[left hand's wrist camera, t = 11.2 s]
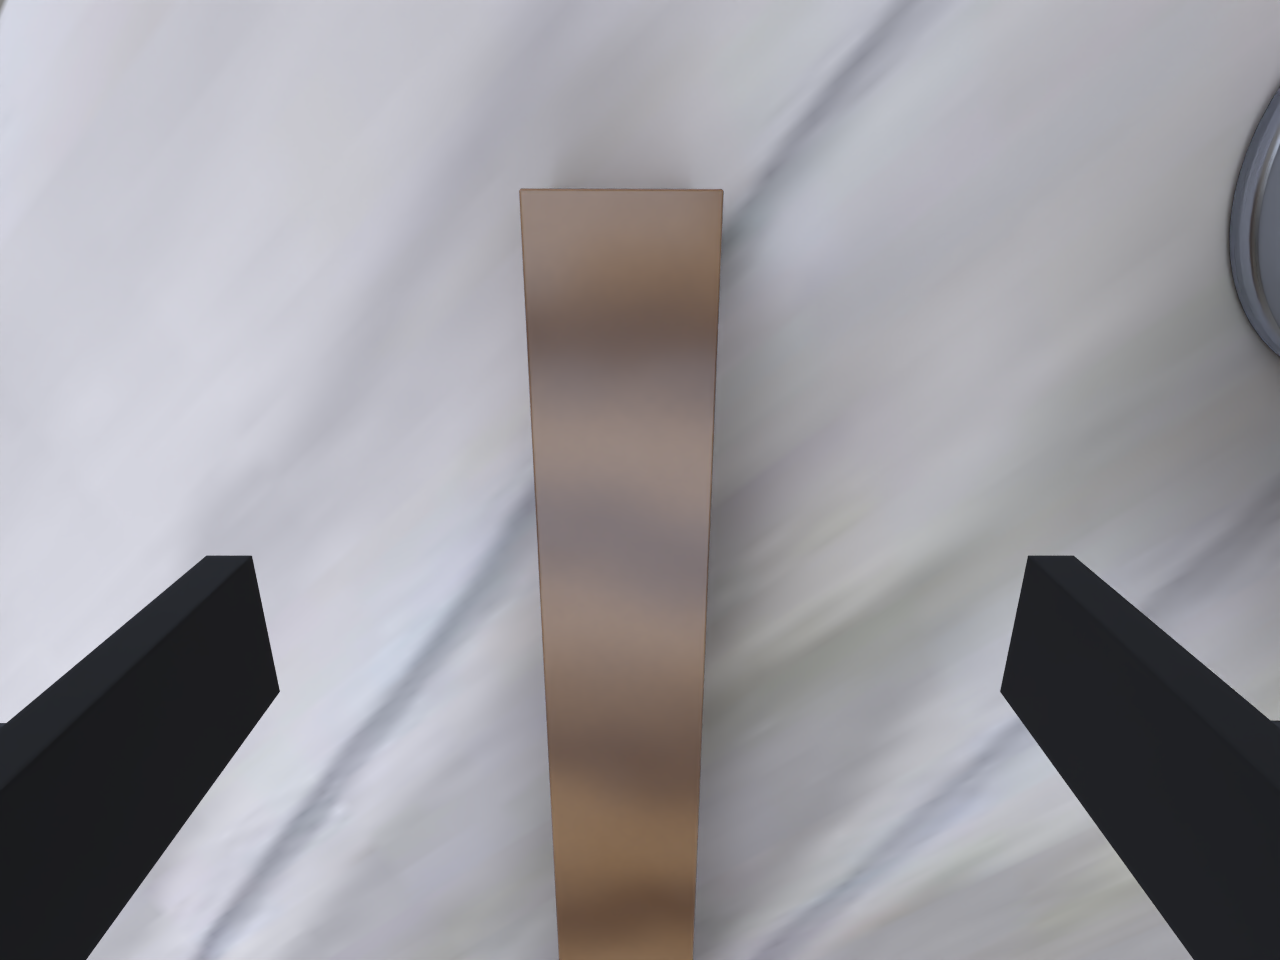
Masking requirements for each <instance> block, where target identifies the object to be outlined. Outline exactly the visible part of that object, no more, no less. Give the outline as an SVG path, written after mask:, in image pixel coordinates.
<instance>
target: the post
mask: <svg viewBox="0 0 1280 960" xmlns="http://www.w3.org/2000/svg"><path fill="white" fill-rule="evenodd" d="M519 197H520V216H521V235H522V255H523V274H524V293H525V313H526V332H527V351H528V371H529V390H530V409H531V428H532V448H533V467H534V486H535V506H536V525H537V544H538V564H539V583H540V602H541V622H542V641H543V660H544V680H545V699H546V718H547V738H548V757H549V776H550V795H551V815H552V834H553V853H554V873H555V892H556V911H557V931H558V950H559V960H693V945H694V920H695V895H696V870H697V845H698V820H699V795H700V769H701V744H702V719H703V694H704V669H705V644H706V619H707V593H708V568H709V543H710V518H711V493H712V468H713V443H714V417H715V392H716V367H717V342H718V317H719V292H720V267H721V242H722V216H723V190H722V189H520V190H519Z"/></svg>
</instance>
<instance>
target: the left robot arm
mask: <svg viewBox="0 0 1280 960" xmlns="http://www.w3.org/2000/svg"><path fill="white" fill-rule="evenodd" d="M1230 258H1231V266H1232V273H1233V278H1234V282H1235V286H1236V290H1237V294H1238V296H1239V299H1240V302H1241V304H1242V307H1243V309H1244V312H1245V313H1246V315H1247V317H1248V319H1249V321H1250V323H1251V325H1252V326H1253V328H1254V329H1255V330H1256V332H1257V333H1258V334H1259V336H1260V337H1261V339H1262V340H1263V341H1264V342H1265V343H1266V344H1267V345H1268V346H1269V347H1270V348H1271V349H1272V350H1273V351H1274V352H1275V353H1276V354H1278V355H1279V356H1280V87H1279V89H1278V91H1277V92H1276V94H1275V95H1274V97H1273V99H1272V100H1271V102H1270V104H1269V106H1268V107H1267V109H1266V111H1265V113H1264V115H1263V117H1262V119H1261V121H1260V123H1259V125H1258V127H1257V129H1256V131H1255V134H1254V136H1253V138H1252V141H1251V143H1250V145H1249V148H1248V150H1247V153H1246V156H1245V159H1244V162H1243V165H1242V168H1241V171H1240V174H1239V178H1238V182H1237V186H1236V190H1235V195H1234V201H1233V207H1232V213H1231V224H1230ZM279 692H280V690H279V685H278V681H277V676H276V671H275V666H274V661H273V656H272V651H271V647H270V642H269V637H268V632H267V627H266V622H265V617H264V612H263V608H262V603H261V598H260V593H259V588H258V583H257V578H256V574H255V569H254V564H253V559H252V556H206V557H204V558H203V559H202V560H201V561H200V562H198V563H197V564H196V565H195V566H194V567H192V568H191V569H190V570H189V571H188V572H186V573H185V574H184V575H183V576H182V577H181V578H179V579H178V580H177V581H176V582H175V583H173V584H172V585H171V586H170V587H169V588H167V589H166V590H165V591H164V592H163V593H161V594H160V595H159V596H158V597H157V598H155V599H154V600H153V601H152V602H151V603H149V604H148V605H147V606H146V607H145V608H143V609H142V610H141V611H140V612H139V613H137V614H136V615H135V616H134V617H133V618H132V619H130V620H129V621H128V622H127V623H126V624H124V625H123V626H122V627H121V628H120V629H118V630H117V631H116V632H115V633H114V634H112V635H111V636H110V637H109V638H108V639H106V640H105V641H104V642H103V643H102V644H100V645H99V646H98V647H97V648H96V649H94V650H93V651H92V652H91V653H90V654H89V655H87V656H86V657H85V658H84V659H83V660H81V661H80V662H79V663H78V664H77V665H75V666H74V667H73V668H72V669H71V670H69V671H68V672H67V673H66V674H65V675H63V676H62V677H61V678H60V679H59V680H57V681H56V682H55V683H54V684H53V685H51V686H50V687H49V688H48V689H47V690H45V691H44V692H43V693H42V694H41V695H40V696H38V697H37V698H36V699H35V700H34V701H32V702H31V703H30V704H29V705H28V706H26V707H25V708H24V709H23V710H22V711H20V712H19V713H18V714H17V715H16V716H14V717H13V718H12V719H11V720H10V721H8V722H7V723H0V960H86V959H87V958H88V956H89V955H90V954H91V952H92V951H93V949H94V948H95V947H96V945H97V944H98V943H99V941H100V940H101V938H102V937H103V936H104V934H105V933H106V931H107V930H108V929H109V927H110V926H111V925H112V923H113V922H114V920H115V919H116V918H117V916H118V915H119V913H120V912H121V911H122V909H123V908H124V907H125V905H126V904H127V902H128V901H129V900H130V898H131V897H132V895H133V894H134V893H135V891H136V890H137V889H138V887H139V886H140V884H141V883H142V882H143V880H144V879H145V878H146V876H147V875H148V873H149V872H150V871H151V869H152V868H153V866H154V865H155V864H156V862H157V861H158V860H159V858H160V857H161V855H162V854H163V853H164V851H165V850H166V848H167V847H168V846H169V844H170V843H171V842H172V840H173V839H174V837H175V836H176V835H177V833H178V832H179V830H180V829H181V828H182V826H183V825H184V824H185V822H186V821H187V819H188V818H189V817H190V815H191V814H192V812H193V811H194V810H195V808H196V807H197V806H198V804H199V803H200V801H201V800H202V799H203V797H204V796H205V794H206V793H207V792H208V790H209V789H210V788H211V786H212V785H213V783H214V782H215V781H216V779H217V778H218V776H219V775H220V774H221V772H222V771H223V770H224V768H225V767H226V765H227V764H228V763H229V761H230V760H231V758H232V757H233V756H234V754H235V753H236V752H237V750H238V749H239V747H240V746H241V745H242V743H243V742H244V740H245V739H246V738H247V736H248V735H249V734H250V732H251V731H252V729H253V728H254V727H255V725H256V724H257V722H258V721H259V720H260V718H261V717H262V716H263V714H264V713H265V711H266V710H267V709H268V707H269V706H270V704H271V703H272V702H273V700H274V699H275V698H276V696H277V695H278V693H279ZM1000 692H1001V693H1002V695H1003V696H1004V698H1005V699H1006V700H1007V702H1008V703H1009V704H1010V706H1011V707H1012V709H1013V710H1014V711H1015V713H1016V714H1017V716H1018V717H1019V718H1020V720H1021V721H1022V722H1023V724H1024V725H1025V727H1026V728H1027V729H1028V731H1029V732H1030V734H1031V735H1032V736H1033V738H1034V739H1035V740H1036V742H1037V743H1038V745H1039V746H1040V747H1041V749H1042V750H1043V752H1044V753H1045V754H1046V756H1047V757H1048V758H1049V760H1050V761H1051V763H1052V764H1053V765H1054V767H1055V768H1056V770H1057V771H1058V772H1059V774H1060V775H1061V776H1062V778H1063V779H1064V781H1065V782H1066V783H1067V785H1068V786H1069V788H1070V789H1071V790H1072V792H1073V793H1074V794H1075V796H1076V797H1077V799H1078V800H1079V801H1080V803H1081V804H1082V806H1083V807H1084V808H1085V810H1086V811H1087V812H1088V814H1089V815H1090V817H1091V818H1092V819H1093V821H1094V822H1095V824H1096V825H1097V826H1098V828H1099V829H1100V830H1101V832H1102V833H1103V835H1104V836H1105V837H1106V839H1107V840H1108V842H1109V843H1110V844H1111V846H1112V847H1113V848H1114V850H1115V851H1116V853H1117V854H1118V855H1119V857H1120V858H1121V860H1122V861H1123V862H1124V864H1125V865H1126V866H1127V868H1128V869H1129V871H1130V872H1131V873H1132V875H1133V876H1134V878H1135V879H1136V880H1137V882H1138V883H1139V884H1140V886H1141V887H1142V889H1143V890H1144V891H1145V893H1146V894H1147V895H1148V897H1149V898H1150V900H1151V901H1152V902H1153V904H1154V905H1155V907H1156V908H1157V909H1158V911H1159V912H1160V913H1161V915H1162V916H1163V918H1164V919H1165V920H1166V922H1167V923H1168V925H1169V926H1170V927H1171V929H1172V930H1173V931H1174V933H1175V934H1176V936H1177V937H1178V938H1179V940H1180V941H1181V943H1182V944H1183V945H1184V947H1185V948H1186V949H1187V951H1188V952H1189V954H1190V955H1191V956H1192V958H1193V959H1194V960H1280V721H1270V720H1269V719H1268V718H1267V717H1266V716H1264V715H1263V714H1262V713H1261V712H1260V711H1258V710H1257V709H1256V708H1255V707H1254V706H1252V705H1251V704H1250V703H1249V702H1248V701H1246V700H1245V699H1244V698H1243V697H1242V696H1240V695H1239V694H1238V693H1237V692H1236V691H1235V690H1233V689H1232V688H1231V687H1230V686H1229V685H1227V684H1226V683H1225V682H1224V681H1223V680H1221V679H1220V678H1219V677H1218V676H1217V675H1215V674H1214V673H1213V672H1212V671H1211V670H1209V669H1208V668H1207V667H1206V666H1205V665H1203V664H1202V663H1201V662H1200V661H1199V660H1197V659H1196V658H1195V657H1194V656H1193V655H1191V654H1190V653H1189V652H1188V651H1187V650H1186V649H1184V648H1183V647H1182V646H1181V645H1180V644H1178V643H1177V642H1176V641H1175V640H1174V639H1172V638H1171V637H1170V636H1169V635H1168V634H1166V633H1165V632H1164V631H1163V630H1162V629H1160V628H1159V627H1158V626H1157V625H1156V624H1154V623H1153V622H1152V621H1151V620H1150V619H1148V618H1147V617H1146V616H1145V615H1144V614H1143V613H1141V612H1140V611H1139V610H1138V609H1137V608H1135V607H1134V606H1133V605H1132V604H1131V603H1129V602H1128V601H1127V600H1126V599H1125V598H1123V597H1122V596H1121V595H1120V594H1119V593H1117V592H1116V591H1115V590H1114V589H1113V588H1111V587H1110V586H1109V585H1108V584H1107V583H1105V582H1104V581H1103V580H1102V579H1101V578H1099V577H1098V576H1097V575H1096V574H1095V573H1094V572H1092V571H1091V570H1090V569H1089V568H1088V567H1086V566H1085V565H1084V564H1083V563H1082V562H1080V561H1079V560H1078V559H1077V558H1076V557H1074V556H1028V559H1027V564H1026V569H1025V574H1024V578H1023V583H1022V588H1021V593H1020V598H1019V603H1018V608H1017V612H1016V617H1015V622H1014V627H1013V632H1012V637H1011V642H1010V647H1009V651H1008V656H1007V661H1006V666H1005V671H1004V676H1003V681H1002V685H1001V690H1000Z"/></svg>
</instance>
